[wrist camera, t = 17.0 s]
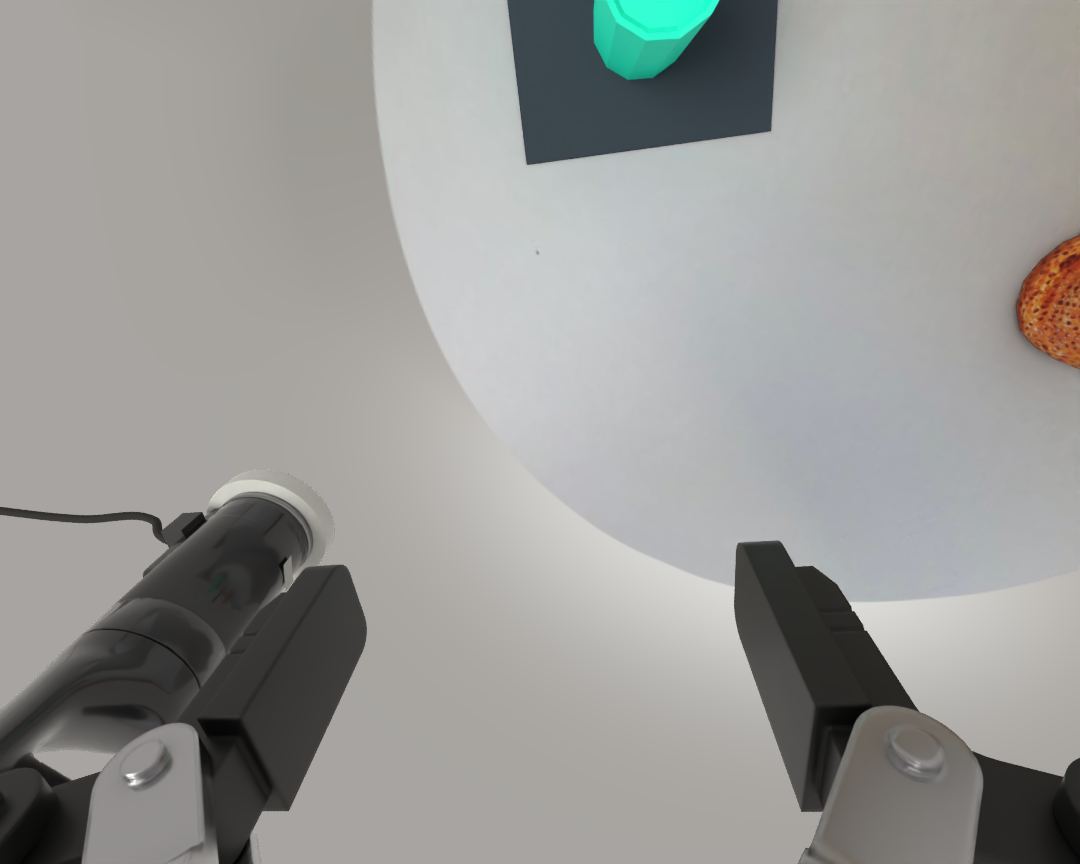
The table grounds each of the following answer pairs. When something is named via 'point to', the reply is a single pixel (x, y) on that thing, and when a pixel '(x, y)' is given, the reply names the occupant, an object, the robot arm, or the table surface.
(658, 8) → the candle
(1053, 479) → the table surface
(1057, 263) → the figurine
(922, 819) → the robot arm
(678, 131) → the mat
